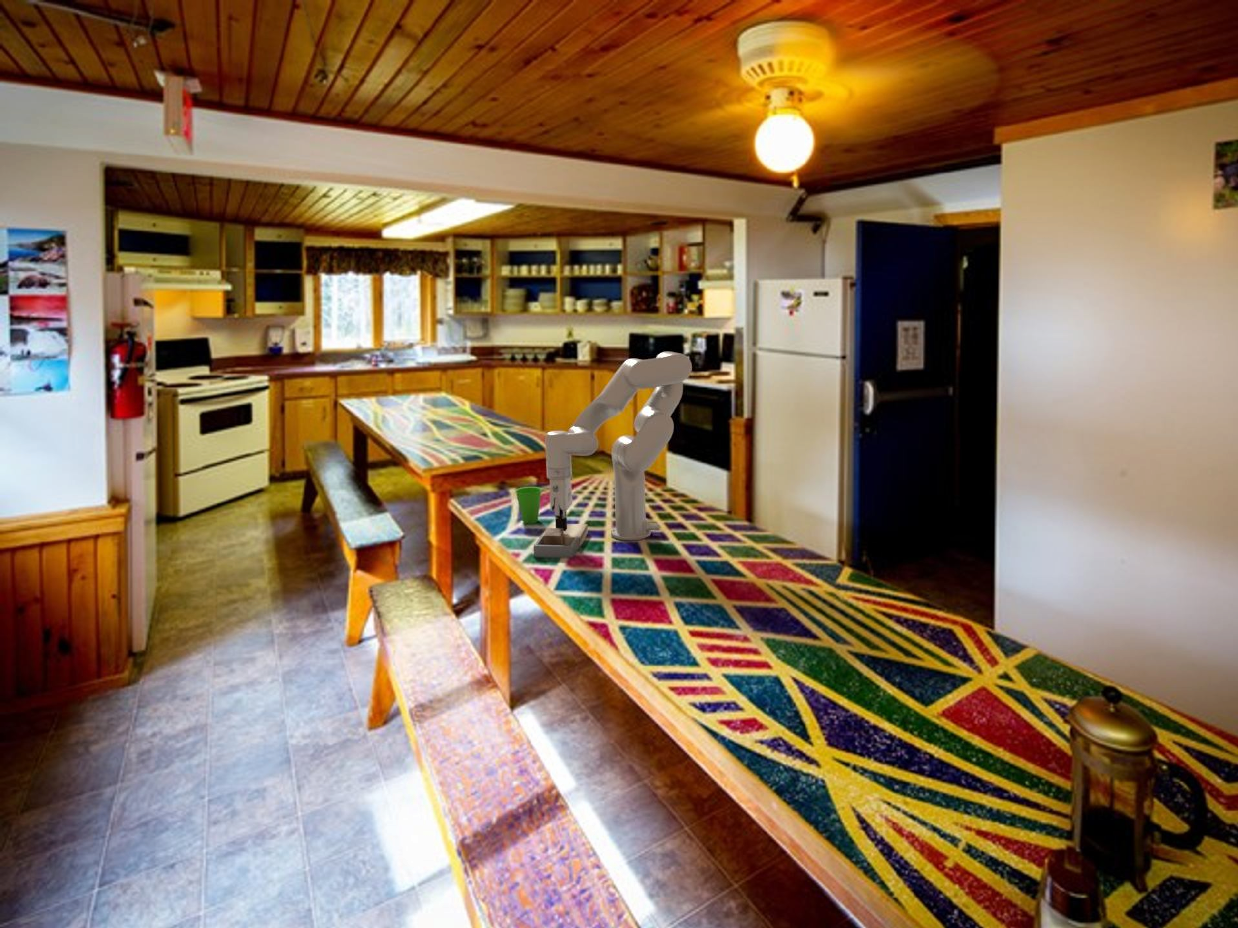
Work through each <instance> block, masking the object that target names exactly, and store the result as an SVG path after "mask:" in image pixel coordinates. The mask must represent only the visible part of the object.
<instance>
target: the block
mask: <svg viewBox="0 0 1238 928" xmlns="http://www.w3.org/2000/svg"><path fill="white" fill-rule="evenodd" d="M544 532H545V534H544V541H545V545H564V543H565V540H564V532H563V528H548V527H547V528H546V529H545V530H544Z"/></svg>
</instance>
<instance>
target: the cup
mask: <svg viewBox="0 0 1238 928" xmlns="http://www.w3.org/2000/svg"><path fill="white" fill-rule="evenodd" d="M542 491H543V489H542V488H541V487H538V486H525V487H524V486H523V487H519V488H517V489H515V490H514V492H515V494H516V498H517V502H518V507H519V512H520V516H521V520H522V522H523V523H524V524H534V523H537V522H538V521H539V512H540V504H541V495H542Z"/></svg>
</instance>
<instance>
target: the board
mask: <svg viewBox="0 0 1238 928" xmlns="http://www.w3.org/2000/svg"><path fill="white" fill-rule="evenodd" d="M547 528H556V523H550V524H549V525H548V527H547ZM588 529H589V528H588V524H586V523H567V530H566V531H563V532H564V540H565V543H564V545H571V544H572V542H573V540H574V539H575V537H576V536H579V548H581V547H582V544H583V542H584V541H585V539H586V538H587V535H588V533H589V530H588ZM544 534H545V531H544V532H543V534H542V535H544ZM544 545H545V541H544Z"/></svg>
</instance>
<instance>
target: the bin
mask: <svg viewBox="0 0 1238 928" xmlns="http://www.w3.org/2000/svg"><path fill="white" fill-rule="evenodd" d="M579 549H580V547H579V536H576V537H575V539H574V540H573V542H572V544H571V545H544V535H543V534H541V535H540V536H539V538H538V539H537V540H536V541H535V543H534V545H533V556H534V557H533V558H552V559H553V558H556V559H557V558H558V559H559V558H561V559H562V558H563V559H567V558H568V559H573V558H574V557H575V555H577V554H576V553H577V552H578V550H579Z"/></svg>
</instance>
